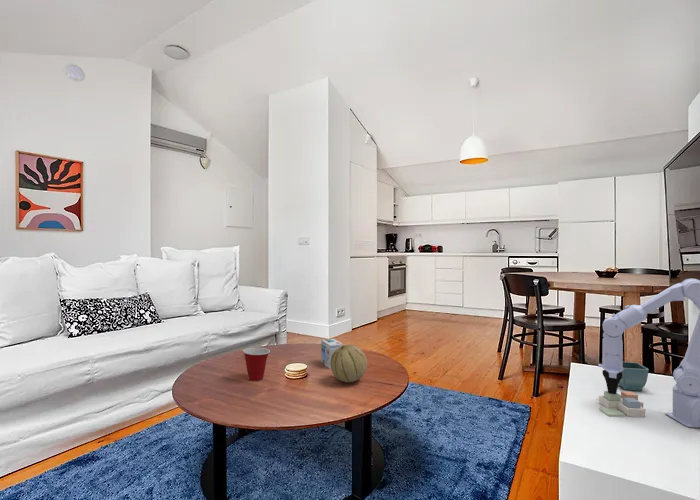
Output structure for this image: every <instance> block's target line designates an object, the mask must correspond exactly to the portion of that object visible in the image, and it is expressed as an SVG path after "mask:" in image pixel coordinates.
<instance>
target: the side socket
mask: <svg viewBox="0 0 700 500" xmlns="http://www.w3.org/2000/svg"><path fill="white" fill-rule="evenodd" d="M617 410H618V411H620V412H621V413H623V414H624V415H625V416H626V417H629V418H630V417H633V418H646V409H645V408H644V407H643V408H642V407H640V409H636V408H628V407H626V406H625V405H623V403H618V409H617Z"/></svg>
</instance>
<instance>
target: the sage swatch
mask: <svg viewBox="0 0 700 500" xmlns="http://www.w3.org/2000/svg"><path fill="white" fill-rule="evenodd" d="M598 411H600V412H602V413H603V414H605V415H606V416H607V417H623V418H624V417H625V416H626V415H625V414H624V413H622V412H621V411H619V410H618V409H615V408H606V407H599V408H598Z"/></svg>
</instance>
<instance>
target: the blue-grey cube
mask: <svg viewBox="0 0 700 500" xmlns="http://www.w3.org/2000/svg"><path fill="white" fill-rule="evenodd" d="M638 400H639V399H638ZM638 400H636V399H634V398H623V405H625V406H626V407H628V408H636V409H640V401H641V400H640V401H638Z"/></svg>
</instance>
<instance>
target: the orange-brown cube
mask: <svg viewBox="0 0 700 500" xmlns="http://www.w3.org/2000/svg"><path fill="white" fill-rule="evenodd" d="M620 395H621V398H622V399H623V398H634V399H636V400H639V395H638V394H636V393H635V392H633V391H631V390H626V391H623V390H622V391H620Z"/></svg>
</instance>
